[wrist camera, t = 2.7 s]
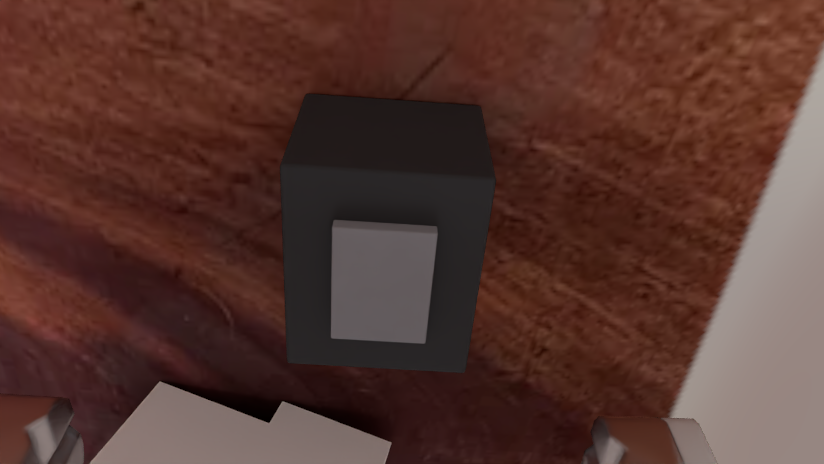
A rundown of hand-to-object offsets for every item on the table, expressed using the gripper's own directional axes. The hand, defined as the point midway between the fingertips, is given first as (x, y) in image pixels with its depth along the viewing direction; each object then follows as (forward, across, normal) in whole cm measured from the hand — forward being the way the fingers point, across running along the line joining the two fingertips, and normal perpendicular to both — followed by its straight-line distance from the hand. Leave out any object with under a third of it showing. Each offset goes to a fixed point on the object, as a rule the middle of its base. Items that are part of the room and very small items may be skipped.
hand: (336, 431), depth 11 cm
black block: (+7, -1, 0) cm, 7 cm away
